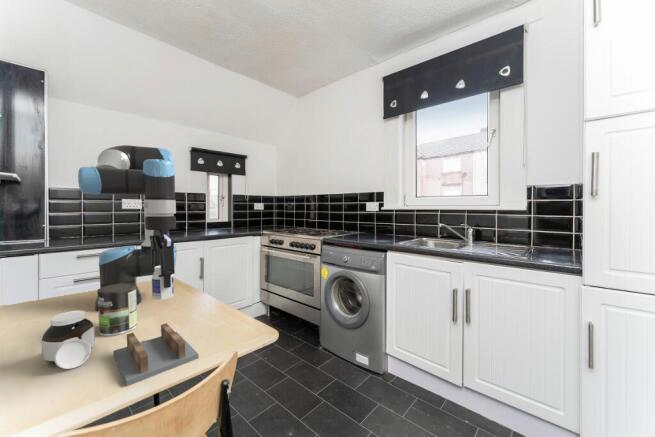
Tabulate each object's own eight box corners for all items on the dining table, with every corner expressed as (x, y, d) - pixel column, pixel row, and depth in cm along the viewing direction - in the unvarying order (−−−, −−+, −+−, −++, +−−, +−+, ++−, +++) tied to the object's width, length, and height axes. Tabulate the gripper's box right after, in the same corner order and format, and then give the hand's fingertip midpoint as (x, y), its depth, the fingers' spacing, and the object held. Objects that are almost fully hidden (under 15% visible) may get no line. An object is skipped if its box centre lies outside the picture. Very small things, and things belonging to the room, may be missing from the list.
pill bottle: (164, 300, 76) (163, 268, 75) (147, 299, 77) (146, 268, 76) (178, 294, 81) (177, 264, 81) (162, 293, 82) (161, 263, 82)
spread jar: (76, 346, 80) (74, 307, 79) (111, 349, 79) (110, 309, 78) (27, 372, 68) (24, 326, 67) (68, 375, 67) (65, 329, 66)
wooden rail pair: (127, 348, 77) (126, 334, 77) (166, 335, 84) (166, 323, 84) (140, 373, 66) (140, 357, 66) (185, 356, 73) (184, 342, 73)
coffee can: (112, 338, 85) (110, 294, 84) (91, 333, 88) (89, 290, 87) (145, 324, 94) (143, 284, 93) (124, 320, 98) (123, 281, 97)
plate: (113, 355, 76) (113, 350, 76) (176, 335, 87) (176, 331, 87) (126, 386, 63) (126, 381, 63) (198, 358, 75) (198, 353, 75)
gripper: (136, 214, 81) (139, 291, 82) (154, 216, 69) (157, 307, 70) (165, 214, 87) (167, 286, 88) (186, 215, 74) (189, 300, 75)
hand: (163, 295), depth 79 cm, fingers closed on pill bottle, 5 cm apart
